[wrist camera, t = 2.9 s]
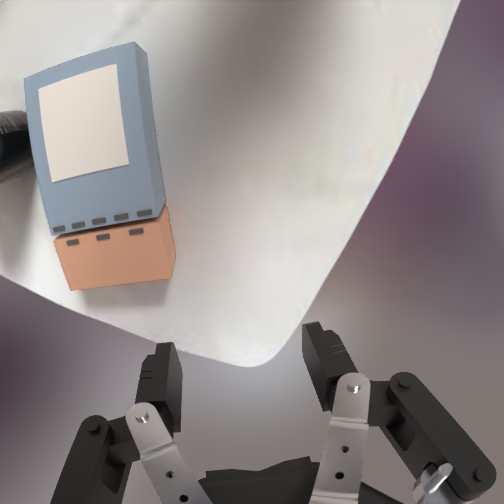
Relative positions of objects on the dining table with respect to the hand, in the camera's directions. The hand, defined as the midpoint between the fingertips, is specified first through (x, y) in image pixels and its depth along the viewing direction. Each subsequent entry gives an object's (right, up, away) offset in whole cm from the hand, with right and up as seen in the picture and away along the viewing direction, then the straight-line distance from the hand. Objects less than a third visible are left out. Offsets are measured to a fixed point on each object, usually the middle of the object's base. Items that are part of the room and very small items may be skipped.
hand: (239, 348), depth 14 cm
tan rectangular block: (-12, +6, +15) cm, 20 cm away
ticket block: (-13, +15, +11) cm, 23 cm away
